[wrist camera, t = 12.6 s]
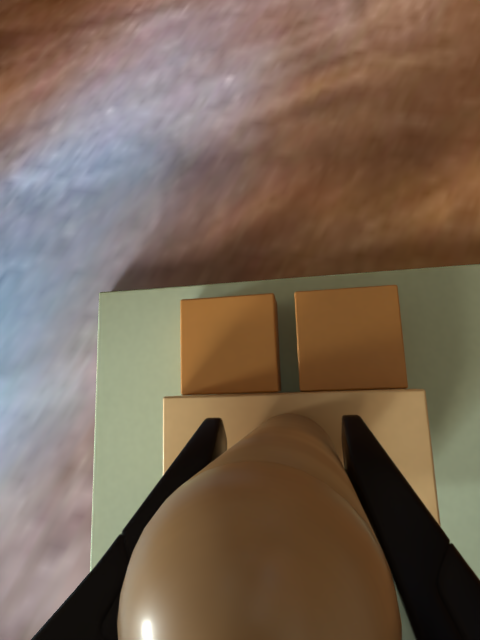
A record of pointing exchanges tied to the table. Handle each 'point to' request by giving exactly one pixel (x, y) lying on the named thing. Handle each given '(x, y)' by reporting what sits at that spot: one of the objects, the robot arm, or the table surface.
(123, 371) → the mat
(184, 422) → the rubber stamp
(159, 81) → the table surface
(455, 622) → the robot arm
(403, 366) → the block
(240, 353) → the block
